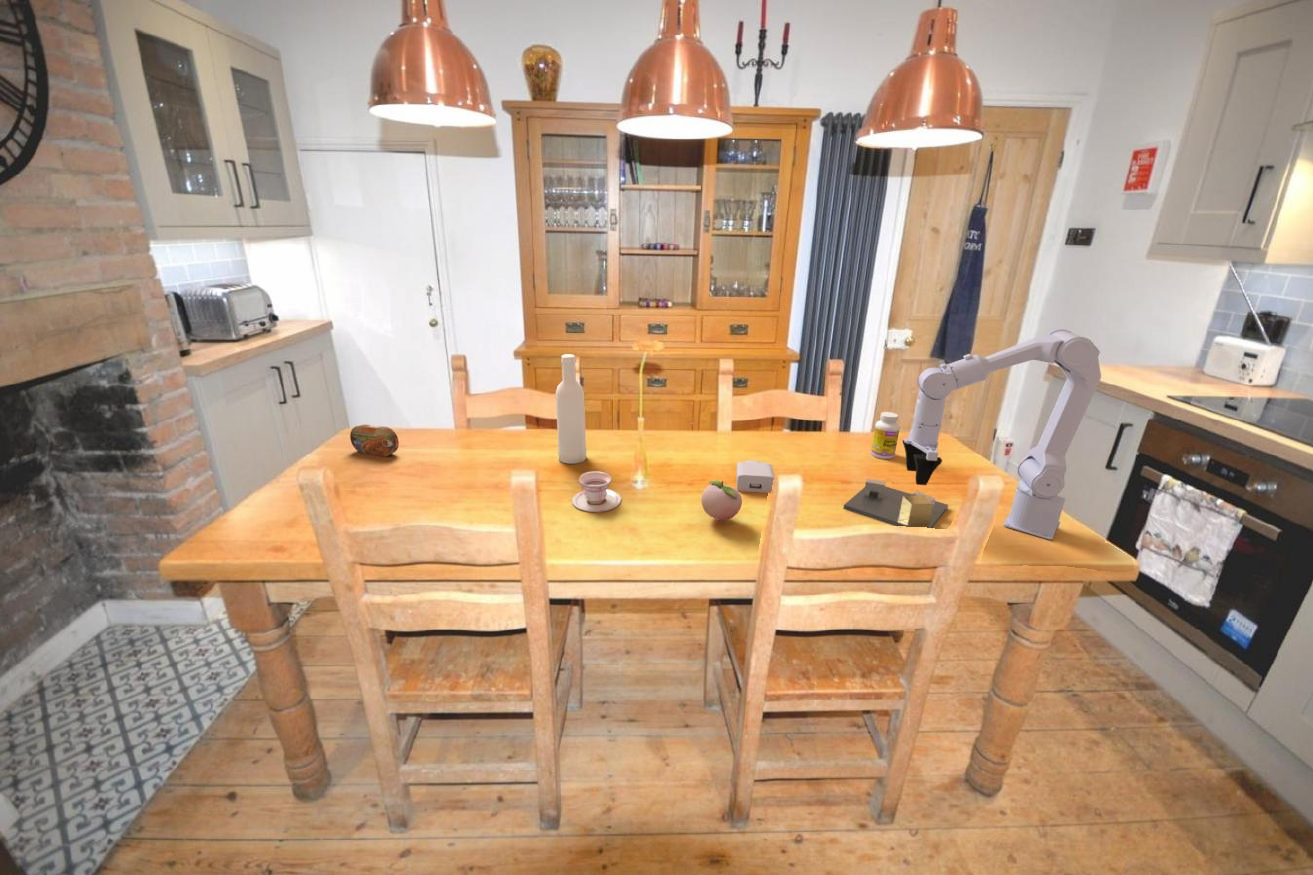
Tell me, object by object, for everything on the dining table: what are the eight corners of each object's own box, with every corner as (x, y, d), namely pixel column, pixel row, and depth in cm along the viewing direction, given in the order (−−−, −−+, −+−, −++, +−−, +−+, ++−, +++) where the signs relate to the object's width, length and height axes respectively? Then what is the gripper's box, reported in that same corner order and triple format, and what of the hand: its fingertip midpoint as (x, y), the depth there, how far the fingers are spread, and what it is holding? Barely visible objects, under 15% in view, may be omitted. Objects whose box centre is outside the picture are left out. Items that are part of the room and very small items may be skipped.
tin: (351, 452, 165) (346, 424, 162) (360, 448, 168) (355, 421, 165) (395, 458, 161) (390, 430, 158) (402, 454, 164) (398, 427, 161)
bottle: (581, 465, 158) (578, 359, 148) (554, 463, 160) (549, 358, 149) (589, 454, 166) (586, 353, 155) (563, 452, 167) (558, 351, 156)
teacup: (567, 494, 142) (566, 471, 140) (613, 487, 146) (613, 465, 144) (578, 516, 131) (577, 492, 129) (627, 508, 135) (627, 485, 133)
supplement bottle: (879, 460, 164) (886, 418, 160) (865, 452, 170) (872, 411, 166) (899, 458, 166) (906, 417, 162) (885, 450, 172) (892, 410, 167)
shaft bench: (947, 508, 137) (951, 492, 136) (926, 535, 125) (929, 518, 124) (869, 485, 149) (872, 470, 147) (843, 508, 137) (845, 492, 135)
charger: (769, 469, 158) (773, 493, 144) (735, 467, 159) (736, 491, 145) (770, 454, 156) (775, 476, 142) (736, 452, 157) (737, 474, 143)
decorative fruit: (691, 519, 130) (693, 480, 127) (714, 508, 136) (717, 470, 132) (723, 535, 124) (726, 494, 121) (746, 522, 130) (749, 482, 126)
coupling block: (919, 514, 132) (923, 495, 130) (929, 523, 128) (933, 503, 127) (899, 515, 132) (903, 495, 130) (907, 523, 128) (911, 504, 126)
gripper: (899, 411, 134) (890, 463, 139) (917, 432, 121) (906, 489, 126) (931, 412, 133) (920, 465, 138) (952, 434, 120) (940, 491, 125)
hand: (916, 477), depth 132 cm, fingers open, 7 cm apart
